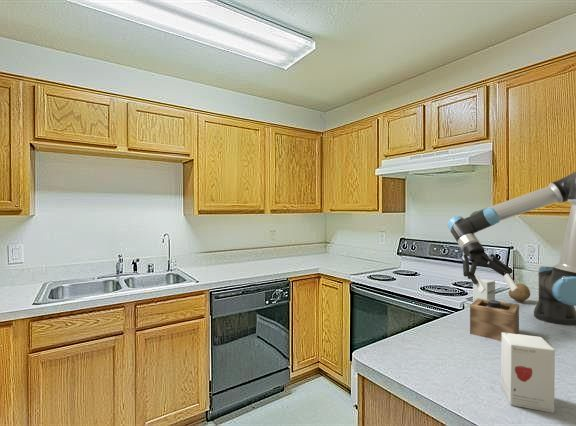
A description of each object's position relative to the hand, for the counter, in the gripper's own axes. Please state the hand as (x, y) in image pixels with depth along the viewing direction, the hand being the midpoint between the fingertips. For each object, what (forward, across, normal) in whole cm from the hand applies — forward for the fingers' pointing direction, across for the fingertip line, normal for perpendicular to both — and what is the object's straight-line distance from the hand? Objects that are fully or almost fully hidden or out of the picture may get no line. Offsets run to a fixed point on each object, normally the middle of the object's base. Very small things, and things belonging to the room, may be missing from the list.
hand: (499, 290), depth 123 cm
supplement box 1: (-14, -24, -39) cm, 48 cm away
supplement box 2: (+40, +27, +15) cm, 50 cm away
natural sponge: (-15, -46, -40) cm, 63 cm away
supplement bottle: (+10, 0, -13) cm, 16 cm away
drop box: (+10, 0, -14) cm, 17 cm away
